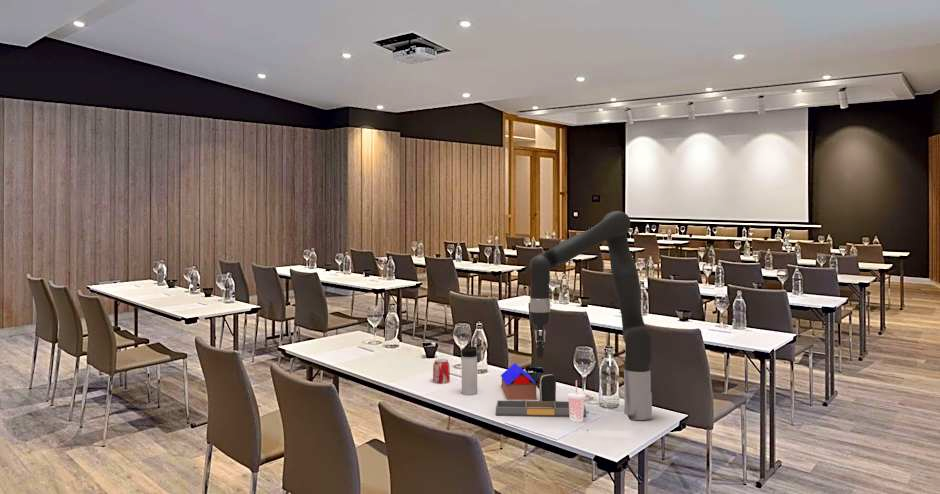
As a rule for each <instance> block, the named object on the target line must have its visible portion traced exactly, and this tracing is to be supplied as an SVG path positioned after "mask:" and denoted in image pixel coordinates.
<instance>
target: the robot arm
mask: <svg viewBox="0 0 940 494" xmlns="http://www.w3.org/2000/svg"><path fill="white" fill-rule="evenodd" d="M630 228H631V219H630V216H628V214H627V213H626V212H624V211H621V210H615V211H614V210H613V211H611V212H608V213H607V214H605V216H603V219H602V220H601V221H600V222H599V223H596V225H594V226H593V227H591V228H589V229H587V230H584V231H583V232H580V233H578V234H576V235H574V236H572V237H569V238H568V239H565V240H564V241H562V242H560V243H558V244H556V245H554V246H553V247H552V248H550V249H549V250H546V251H543V252H541V253H539V254H537V255H536V256H534V257H532V258H531V260H530V263H529V268H530V289H529V294H530V295H529V323H530V324H532V325H536V327H535V328H534V336H535V341H534V342H536V357H537V358H538V359H543V358H544V347H545V343H544V342H546V328H545V327H544V325H549V324H550V323H551V299H550V292H551V291H550V289H551V288H550V276H551V274H550V273H551V270H552V269H553V268H556V267H557V266H559V265H562V264H564V263H567V262H570V261H571V260H572V259H574V258H577V257H578V256H579V255H581V254H583V253H584V252H587V251H588V250H589V249H592V248H594V247H595V246H597V245H599V244H601V243H603V242H605V241H606V245H607V247H608V251H609V252H608V254H609V263H610V269H611V270H610V271H611V277H612V278H611V279H612V283H613V288H614V292H615V296H616V300H617V303H618V307H619V311H620V314H621V315H620V316H621V324H622V325H621V326H622V339H623V342H624V344H625V345H624V347H625V349H624V351H625V353H624V354H625V355H624V362H623V367H624V368H623V370H624V371H623V375H624V377H623V379H624V380H623V386H624V387H623V388H624V389H623V391H624V395H623V398H624V401H623V402H624V404H623V405H624V408H623V409H624V411H623V412H624V414H625V415H626V416H627V417H628V418H629V420H632V421H633V420H634V421H645V420H653V401H652V399H653V394H652V393H653V392H652V391H651V364H652V355H653V354H652V353H653V351H652V349H653V345H652V343H653V342H652V341H653V340H652V335H651V333H650V331H649V330H648V329H647V328H646V326H645V322H644V318H643V315H642V314H643V313H642V309H641V307H642V306H641V301H642V300H641V299H642V297H641V294H642V293H641V283H640V282H641V281H640V278H639V272H638V268H637V265H636V262H635V259H634V257H633V255H632V252H631V250H630V246H629V241H628V240H629V239H628V231H629V229H630Z"/></svg>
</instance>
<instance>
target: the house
mask: <svg viewBox="0 0 940 494" xmlns="http://www.w3.org/2000/svg"><path fill="white" fill-rule="evenodd" d="M500 377H501V388H502V391H503V392H504V395H505V397H506V399H507V401H537V383H536V382H535V380H534V379H533V378H532V377H531V375H530V374H529V373H528V372H527V371H526V370H524V369H523V368H522V367H520V366H519V364H517V363H515V362H514V363H513V364H512V365H511V366H510V367H509V368H508V369H506V370H505V371H504V372H503V373H502V374H500Z"/></svg>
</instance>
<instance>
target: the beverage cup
mask: <svg viewBox="0 0 940 494" xmlns="http://www.w3.org/2000/svg"><path fill="white" fill-rule="evenodd" d="M567 398H568V402H569V415H570V417H569V421H570V422H573V423H582V422H583V421H584V417H583V415H584V404H585V398H586V394H585V393H582V392H578V380H577V379H576V380H575V392H568V393H567Z"/></svg>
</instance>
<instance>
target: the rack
mask: <svg viewBox="0 0 940 494" xmlns="http://www.w3.org/2000/svg"><path fill="white" fill-rule="evenodd" d="M495 416H497V417H498V416H500V417H501V416H502V417H506V416H507V417H509V416H510V417H549V418H550V417H551V418H552V417H554V418H555V417H557V418H560V417H562V418H570V415H569V401H562V400H561V401H559V400H558V401H539V400H497V401H496V405H495ZM583 418H587V409H586V405H585V403H584V415H583Z"/></svg>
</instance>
